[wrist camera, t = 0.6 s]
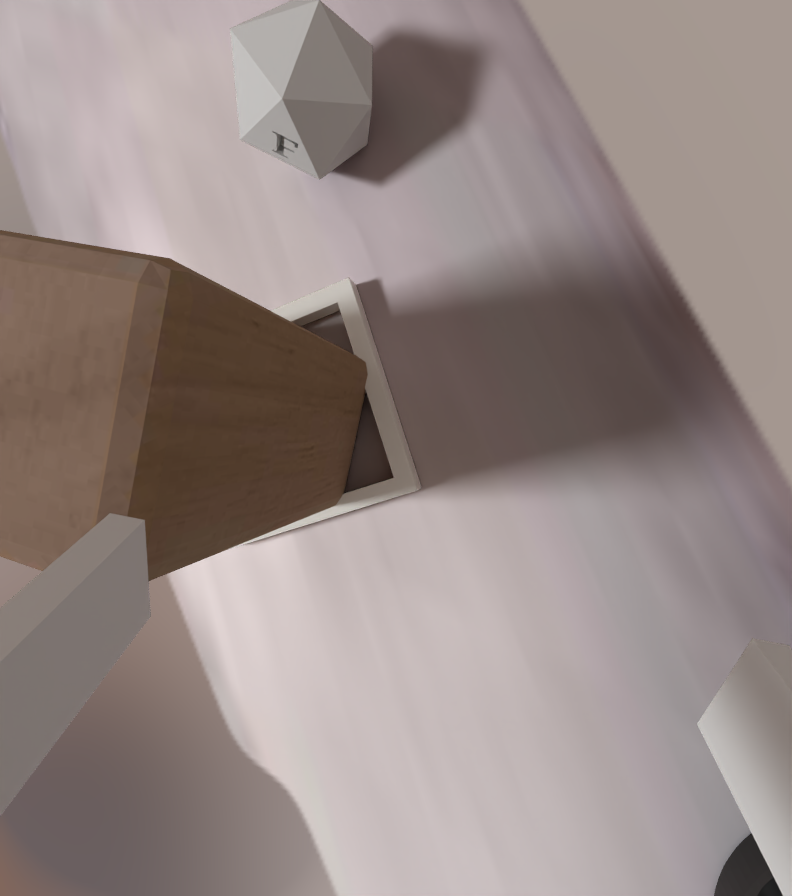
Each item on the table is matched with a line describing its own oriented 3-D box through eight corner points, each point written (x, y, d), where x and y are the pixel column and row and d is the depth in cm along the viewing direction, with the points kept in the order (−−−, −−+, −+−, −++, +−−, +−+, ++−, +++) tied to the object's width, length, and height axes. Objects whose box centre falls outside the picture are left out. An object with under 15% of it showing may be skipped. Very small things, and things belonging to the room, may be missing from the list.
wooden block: (345, 508, 33) (111, 612, 14) (215, 473, 35) (-147, 519, 16) (376, 361, 32) (176, 250, 13) (242, 334, 35) (-104, 205, 15)
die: (252, 127, 35) (192, 148, 28) (283, -27, 30) (220, -53, 22) (358, 182, 36) (329, 215, 29) (406, 43, 31) (386, 40, 24)
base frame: (421, 487, 32) (417, 490, 31) (236, 545, 35) (224, 550, 34) (355, 284, 33) (348, 277, 31) (179, 358, 36) (165, 355, 34)
